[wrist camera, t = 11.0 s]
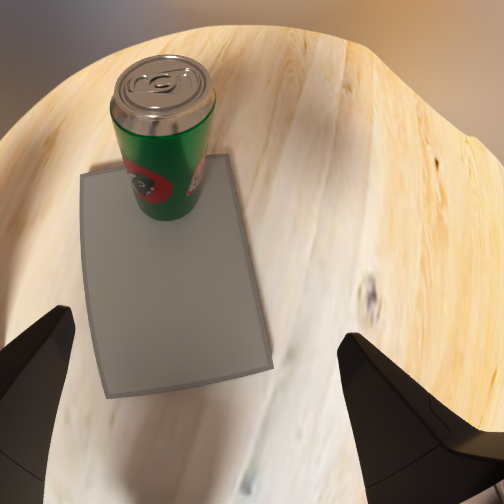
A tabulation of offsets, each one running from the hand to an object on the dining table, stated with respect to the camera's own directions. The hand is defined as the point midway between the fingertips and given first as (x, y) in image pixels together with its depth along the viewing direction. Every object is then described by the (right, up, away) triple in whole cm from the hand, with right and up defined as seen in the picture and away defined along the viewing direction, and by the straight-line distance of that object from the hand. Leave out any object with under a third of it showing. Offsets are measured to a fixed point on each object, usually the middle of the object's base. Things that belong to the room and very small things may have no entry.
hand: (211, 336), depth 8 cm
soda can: (-5, +7, +14) cm, 16 cm away
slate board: (-5, +1, +13) cm, 14 cm away
